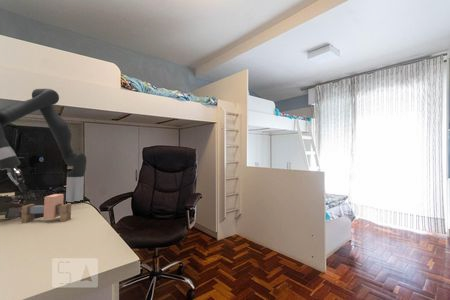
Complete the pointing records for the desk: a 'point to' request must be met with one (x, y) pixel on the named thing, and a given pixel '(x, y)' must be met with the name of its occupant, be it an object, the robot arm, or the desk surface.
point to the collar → (52, 205)
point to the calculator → (37, 215)
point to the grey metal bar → (41, 209)
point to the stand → (64, 213)
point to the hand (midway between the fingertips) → (24, 190)
